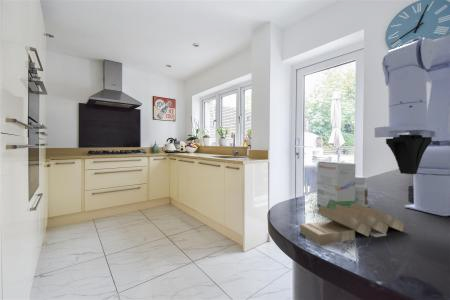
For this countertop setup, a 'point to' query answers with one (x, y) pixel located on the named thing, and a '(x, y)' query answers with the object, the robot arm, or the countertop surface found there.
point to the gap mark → (376, 233)
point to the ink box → (335, 184)
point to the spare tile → (344, 220)
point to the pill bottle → (361, 191)
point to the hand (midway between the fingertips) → (408, 173)
